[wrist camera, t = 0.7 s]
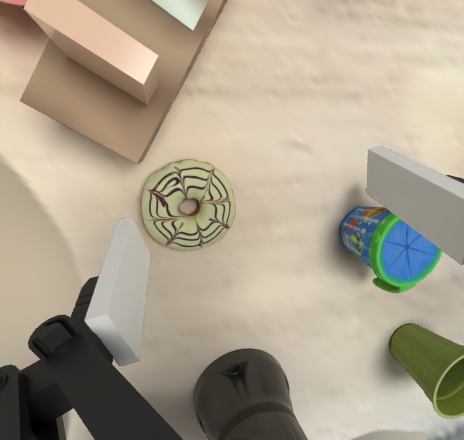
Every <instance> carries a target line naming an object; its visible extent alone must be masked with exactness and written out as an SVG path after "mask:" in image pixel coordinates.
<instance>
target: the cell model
mask: <svg viewBox="0 0 464 440" xmlns="http://www.w3.org/2000/svg"><path fill="white" fill-rule="evenodd" d="M0 2H2V3H6V4H10V5H16V6H25V5H26V2H27V0H0Z"/></svg>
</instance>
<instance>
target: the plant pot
mask: <svg viewBox="0 0 464 440" xmlns="http://www.w3.org/2000/svg"><path fill="white" fill-rule="evenodd" d="M390 351H391V353H392V355H393V356H394V357H395V358H396V359H397V360H398V361H399V363H400V364H401V365H402V366H403V367H404V368H405V370H406V371H407V372H408V373H409V374H410V375H411V377H412V378H413V379H414V380H415V381H416V382H417V384H418V385H419V386H420V387H421V388H422V389H423V391H424V393H425V394H426V396H427V397H428V398H429V399H430V401H431V402H432V403H433V407H434V409H435V411H436V412H437V414H438V415H440V416H441V417H443V418H447V419H454V418H459V417H461V416H464V346H462V345H459V344H457V343H454V342H452V341H450V340H448V339H446V338H444V337H442V336H439V335H437V334H435V333H433V332H431V331H429V330H427V329H425V328H422V327H420V326H418V325H416V324H410V325H404V326H402V327H401V328H399V329H398V330H397V331H396V332H395V334H394V335H393V337H392V339H391V347H390Z"/></svg>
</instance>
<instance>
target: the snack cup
mask: <svg viewBox="0 0 464 440" xmlns="http://www.w3.org/2000/svg"><path fill="white" fill-rule="evenodd" d="M366 190H367V188H366ZM341 238H342V241H343V244H344V246H345V247H346V248H347V249H348V250H349V251H350V252H351V253H352V254H354V255H355V256H356V257H357V258H359V259H360V260H361V261H362V262H364V263H365V264H366V265H367V266H369V267H371V268H372V269H373V271H374V273H375V275H376V276H377V278H375V279H373V283H374V284H375V285H376V286H377V287H379V288H381V289H383V290H385V291H388V292H392V293H400V292H404V291H406V290H408V289H411V288H412V287H414V286H415V285H416V283H418V282H419V281H421V280H422V279H424V278H425V277H426V276H427V275H428V274H430V272H431V271H432V270H433V269H434V268H435V266H436V264H437V263H438V261H439V259H440V257H441V254H442V250H441V249H439V248H438V247H437V246H435V245H434V244H433V243H431V242H430V241H429V240H427V239H426V238H425V237H424V236H422V235H421V234H420V233H418V232H417V231H416V230H414V229H413V228H412V227H410V226H409V225H408V224H406V223H405V222H404V221H402V220H401V219H400V218H398V217H397V216H396V215H394V214H393V213H392V212H390V211H389V210H388V209H386V208H385V207H359V208H357V209H356V210H354V211H353V212H351V213H350V214H349V215H348V216H347V217H346V219H345V221H344V222H343V223H342V225H341Z"/></svg>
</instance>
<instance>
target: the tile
mask: <svg viewBox="0 0 464 440" xmlns="http://www.w3.org/2000/svg"><path fill="white" fill-rule="evenodd" d="M24 10H25V11H26V12H27V13H28V14H29V15H30V16H31V17H32V18H33V20H34V21H35V22H36V23H37V24H38V25H39V26H40V27H41V28H42V29H43V31H44V32H45V33H46V34H47V35H48V36H49V37H50V38H51V39H52V40H53V42H54V43H55V44H56V45H57V46H58V47H59V48H60V49H61V50H62V52H63V53H64V54H65V55H66V56H67V57H69V58H71V59H72V60H74V61H76V62H77V63H79V64H80V65H82V66H84V67H85V68H87V69H89V70H90V71H92V72H93V73H95V74H97V75H98V76H100V77H102V78H103V79H105V80H107V81H108V82H110V83H111V84H113V85H115V86H116V87H118V88H120V89H121V90H123V91H124V92H126V93H128V94H129V95H131V96H133V97H134V98H136V99H138V100H139V101H141V102H142V103H144V104H146V105H148V103H149V101H150V99H151V97H152V95H153V93H154V92H155V90H156V88H157V86H158V55H157V54H156V53H154V52H153V51H151V50H150V49H148V48H147V47H145V46H144V45H142V44H141V43H139V42H138V41H137V40H135V39H134V38H132V37H131V36H129V35H128V34H126V33H125V32H123V31H122V30H120V29H119V28H117V27H116V26H114V25H113V24H112V23H110V22H109V21H107V20H106V19H104V18H103V17H101V16H100V15H98V14H97V13H95V12H94V11H92V10H91V9H90V8H88V7H87V6H85V5H84V4H82V3H81V2H79V1H78V0H27V2H26V5H25V7H24Z"/></svg>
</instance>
